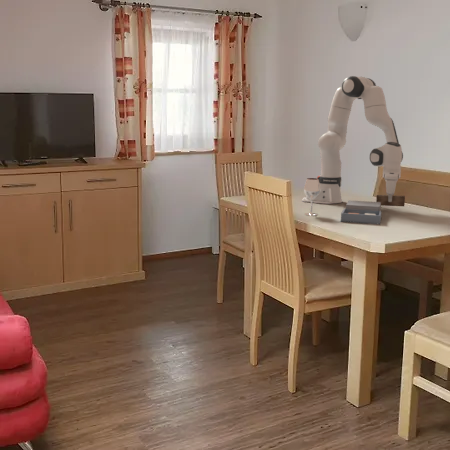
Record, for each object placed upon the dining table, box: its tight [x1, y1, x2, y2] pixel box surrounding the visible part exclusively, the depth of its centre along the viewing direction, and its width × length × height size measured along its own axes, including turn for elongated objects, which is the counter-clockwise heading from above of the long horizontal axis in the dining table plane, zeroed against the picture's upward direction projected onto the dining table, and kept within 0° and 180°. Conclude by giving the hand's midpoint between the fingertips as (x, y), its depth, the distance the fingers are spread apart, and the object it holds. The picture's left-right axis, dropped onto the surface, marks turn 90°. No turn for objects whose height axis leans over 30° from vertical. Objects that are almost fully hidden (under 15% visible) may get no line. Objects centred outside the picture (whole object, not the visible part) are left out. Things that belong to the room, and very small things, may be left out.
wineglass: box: [303, 177, 321, 217], centre depth 303 cm, size 8×8×18 cm
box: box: [340, 208, 383, 225], centre depth 292 cm, size 18×13×4 cm
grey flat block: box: [345, 199, 381, 211], centre depth 304 cm, size 16×14×6 cm
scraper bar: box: [375, 194, 406, 207], centre depth 314 cm, size 14×3×5 cm, turn 74°
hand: (390, 201), depth 314 cm, fingers closed on scraper bar, 3 cm apart
